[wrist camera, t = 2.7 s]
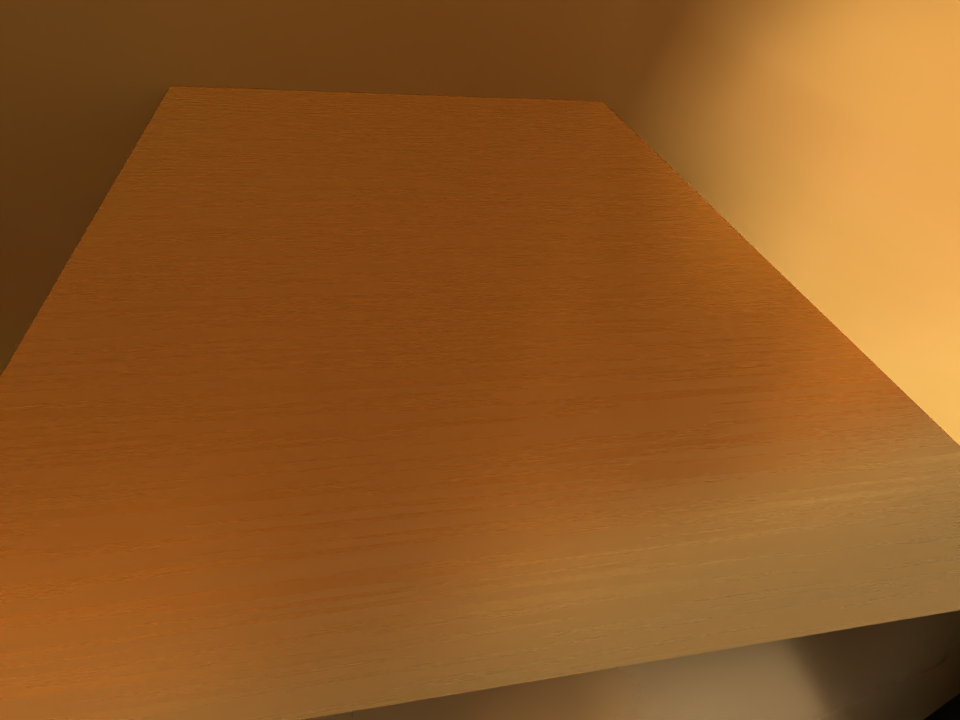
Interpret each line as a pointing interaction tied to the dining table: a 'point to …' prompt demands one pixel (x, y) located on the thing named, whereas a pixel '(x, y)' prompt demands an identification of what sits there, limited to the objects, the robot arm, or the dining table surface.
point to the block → (453, 441)
